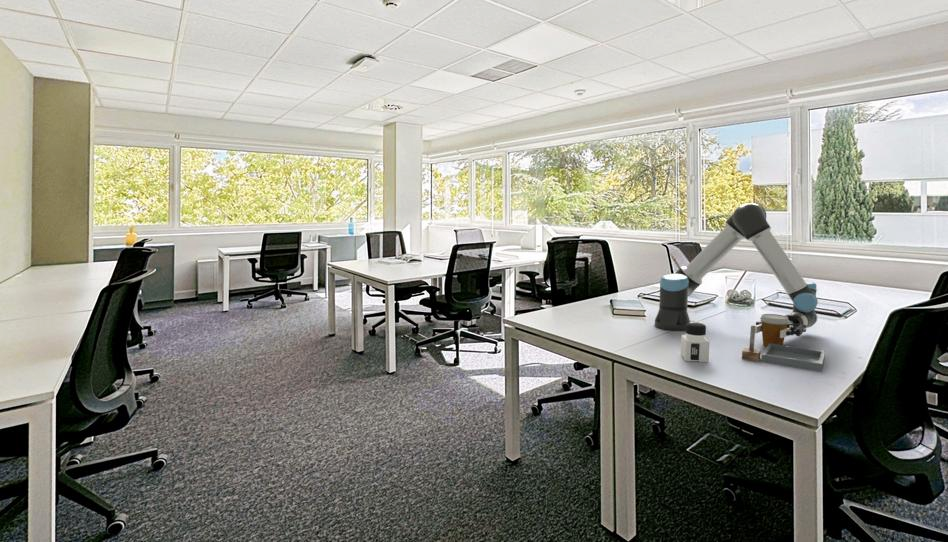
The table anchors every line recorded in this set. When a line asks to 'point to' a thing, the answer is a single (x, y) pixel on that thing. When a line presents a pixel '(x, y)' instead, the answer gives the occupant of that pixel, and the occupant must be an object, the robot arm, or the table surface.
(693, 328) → the container
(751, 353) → the stand
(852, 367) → the table surface
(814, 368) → the tray
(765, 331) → the disposable coffee cup
